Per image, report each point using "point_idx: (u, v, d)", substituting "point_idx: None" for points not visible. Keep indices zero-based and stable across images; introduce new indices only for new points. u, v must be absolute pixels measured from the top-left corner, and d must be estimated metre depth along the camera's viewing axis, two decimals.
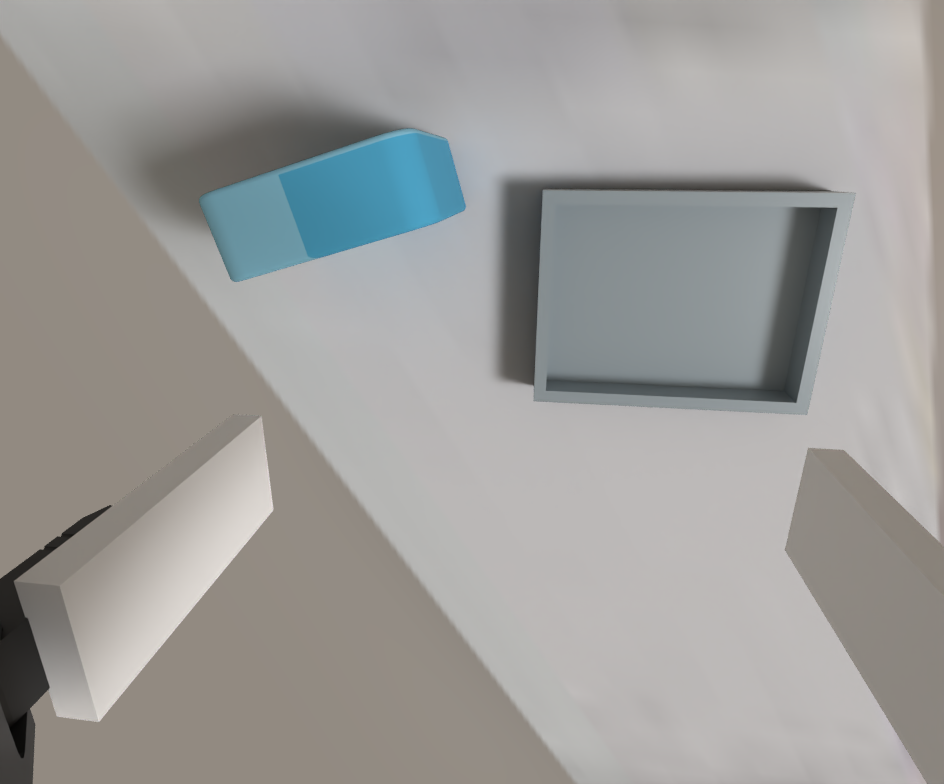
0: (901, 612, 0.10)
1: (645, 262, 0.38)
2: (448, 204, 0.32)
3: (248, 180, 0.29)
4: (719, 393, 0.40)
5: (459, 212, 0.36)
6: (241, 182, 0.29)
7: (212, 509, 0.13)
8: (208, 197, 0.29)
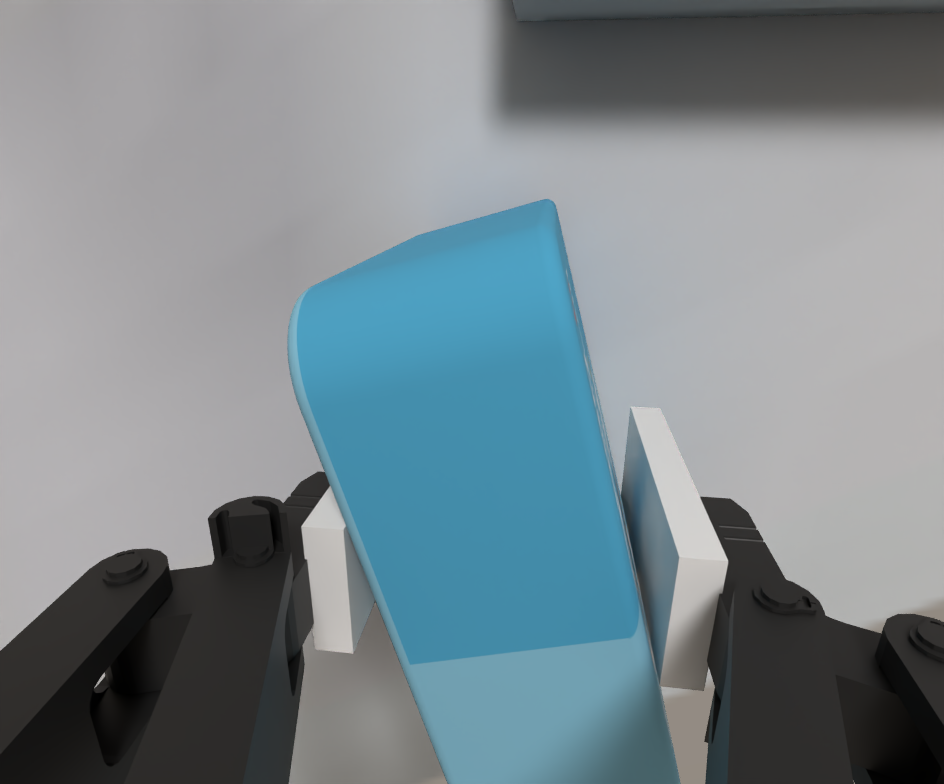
0: (651, 526, 0.12)
1: None
2: (521, 217, 0.12)
3: (426, 726, 0.11)
4: None
5: (554, 207, 0.16)
6: (431, 741, 0.12)
7: None
8: None
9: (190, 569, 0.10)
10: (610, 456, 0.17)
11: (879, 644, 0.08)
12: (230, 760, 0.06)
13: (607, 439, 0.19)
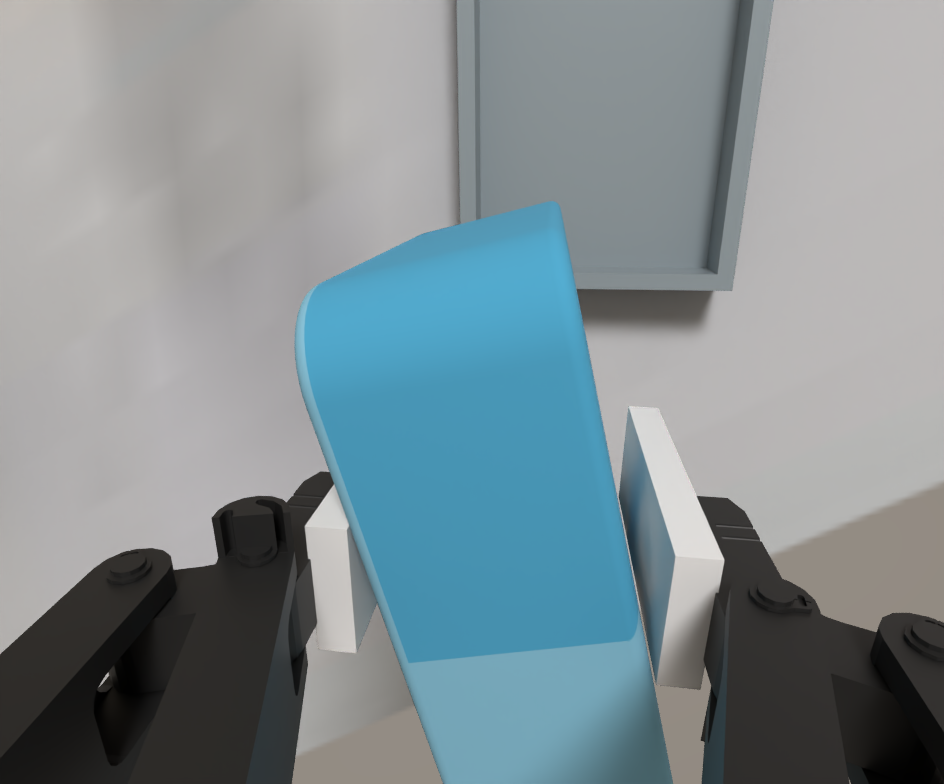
0: (648, 526, 0.12)
1: (551, 147, 0.30)
2: (529, 219, 0.12)
3: (423, 724, 0.11)
4: (745, 9, 0.26)
5: (560, 209, 0.16)
6: (427, 739, 0.12)
7: None
8: None
9: (194, 569, 0.10)
10: None
11: (874, 643, 0.08)
12: (232, 760, 0.06)
13: None
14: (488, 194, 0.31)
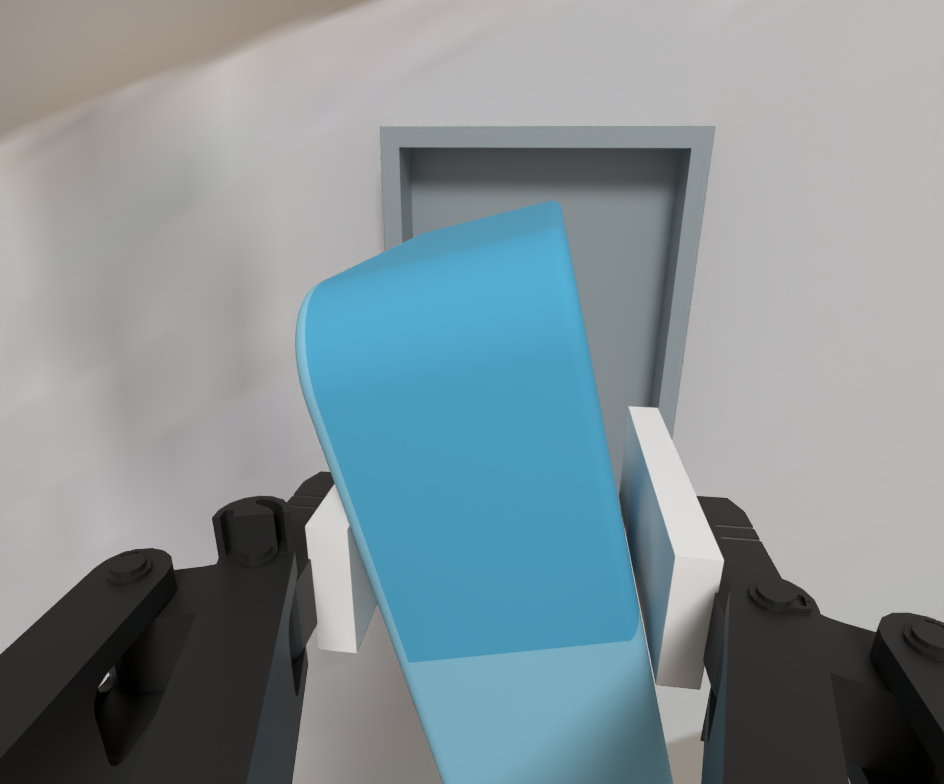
0: (648, 526, 0.12)
1: None
2: (530, 219, 0.12)
3: (423, 724, 0.11)
4: (672, 257, 0.26)
5: (561, 209, 0.16)
6: (427, 739, 0.12)
7: None
8: None
9: (194, 569, 0.10)
10: None
11: (874, 643, 0.08)
12: (232, 760, 0.06)
13: None
14: None
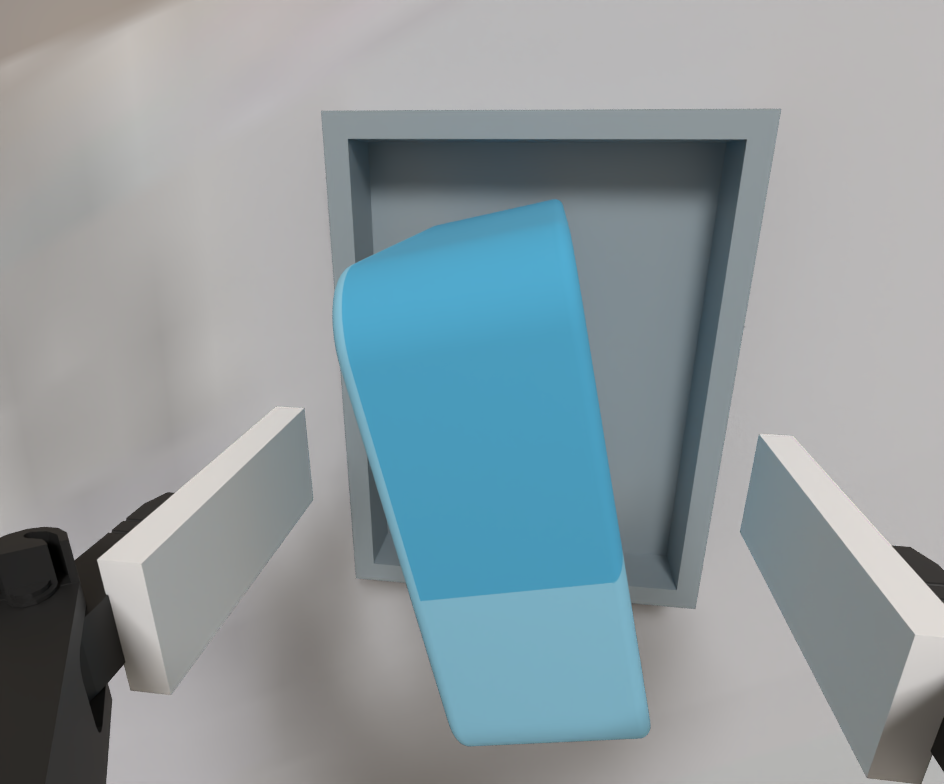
0: (828, 582, 0.10)
1: None
2: (536, 214, 0.14)
3: (430, 658, 0.13)
4: (714, 286, 0.20)
5: (563, 207, 0.17)
6: (434, 672, 0.13)
7: (263, 497, 0.13)
8: (460, 738, 0.14)
9: None
10: None
11: None
12: None
13: None
14: None
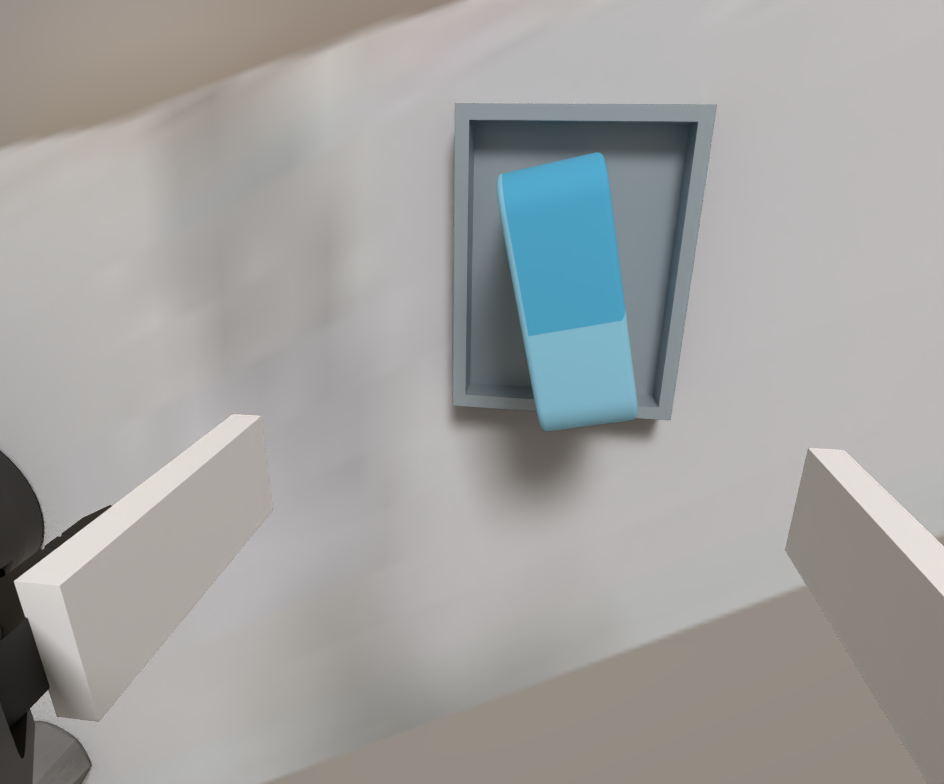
0: (901, 612, 0.10)
1: None
2: None
3: (530, 370, 0.27)
4: (682, 210, 0.33)
5: None
6: (531, 378, 0.27)
7: (212, 509, 0.13)
8: (542, 417, 0.27)
9: None
10: None
11: None
12: None
13: None
14: (477, 329, 0.39)
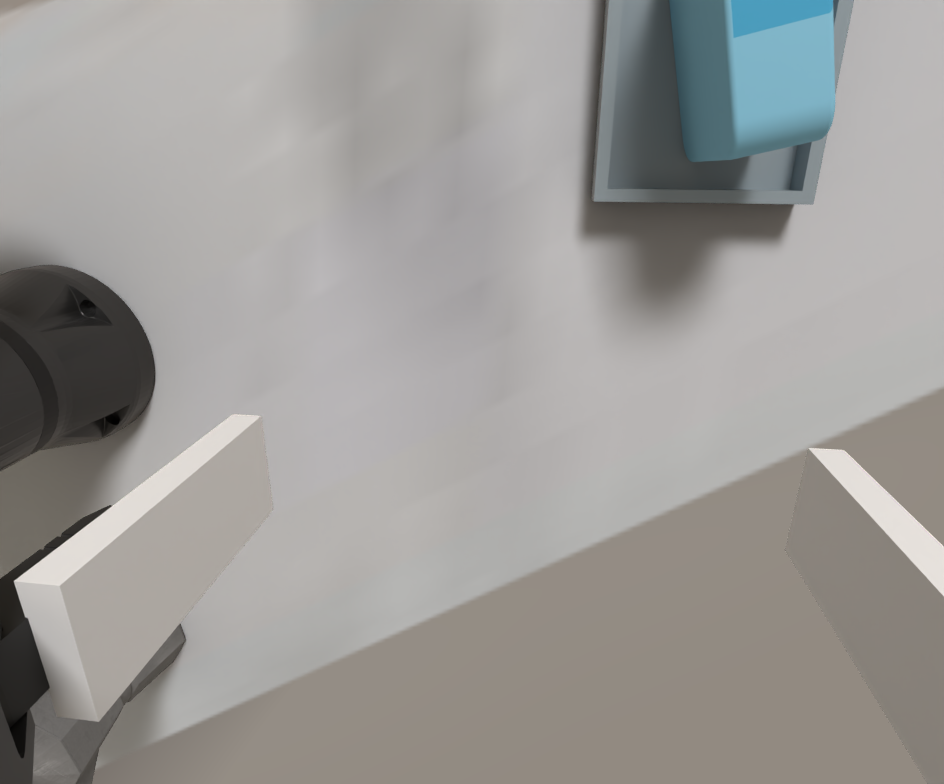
0: (901, 612, 0.10)
1: (670, 89, 0.38)
2: None
3: (731, 78, 0.27)
4: None
5: None
6: (731, 87, 0.27)
7: (212, 509, 0.13)
8: (738, 130, 0.28)
9: None
10: None
11: None
12: None
13: None
14: (616, 128, 0.39)
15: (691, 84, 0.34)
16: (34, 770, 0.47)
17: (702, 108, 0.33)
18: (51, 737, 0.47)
